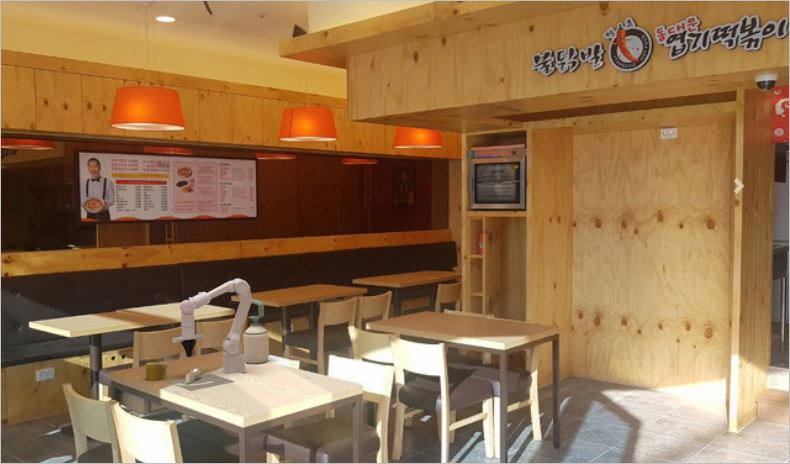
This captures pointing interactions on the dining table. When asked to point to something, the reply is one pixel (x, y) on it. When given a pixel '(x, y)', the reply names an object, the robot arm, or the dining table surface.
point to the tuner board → (202, 382)
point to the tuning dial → (193, 375)
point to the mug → (156, 371)
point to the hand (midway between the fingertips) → (188, 356)
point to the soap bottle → (256, 339)
